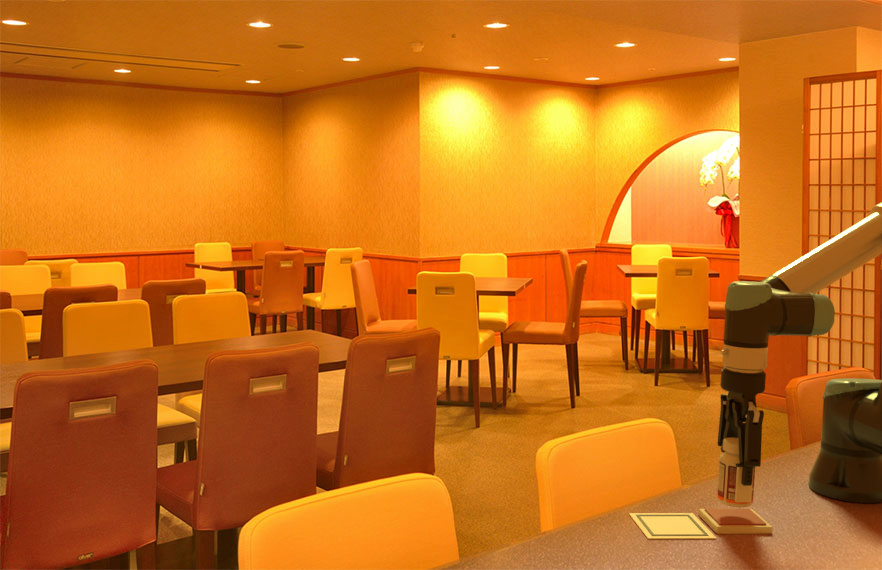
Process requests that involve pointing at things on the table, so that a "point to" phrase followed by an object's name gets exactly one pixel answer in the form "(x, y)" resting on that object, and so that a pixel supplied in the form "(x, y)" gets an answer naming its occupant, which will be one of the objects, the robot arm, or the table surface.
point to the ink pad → (735, 521)
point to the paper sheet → (671, 526)
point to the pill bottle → (730, 474)
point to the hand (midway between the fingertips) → (735, 494)
